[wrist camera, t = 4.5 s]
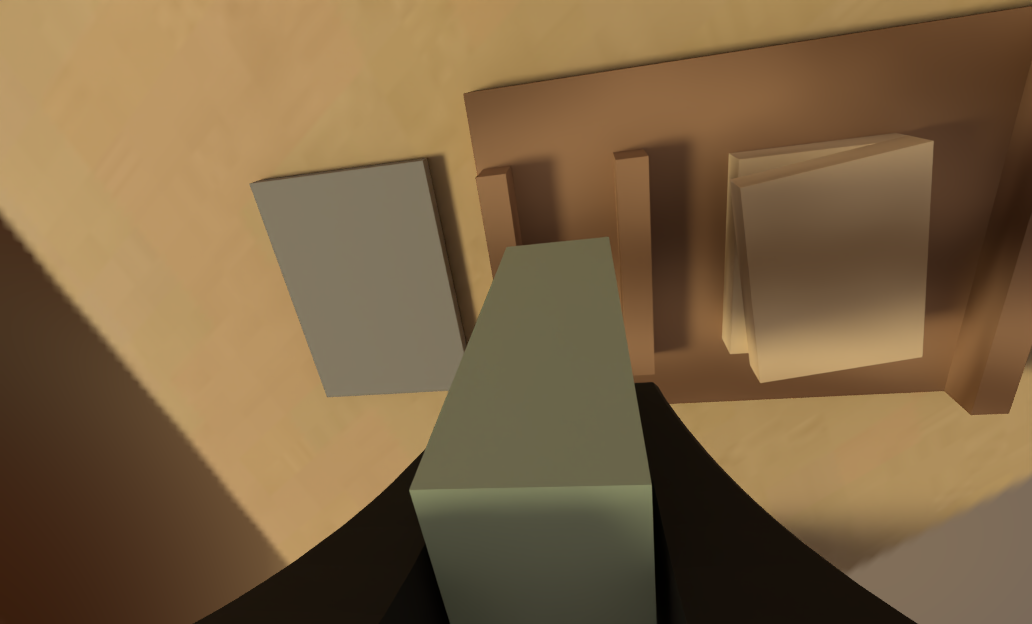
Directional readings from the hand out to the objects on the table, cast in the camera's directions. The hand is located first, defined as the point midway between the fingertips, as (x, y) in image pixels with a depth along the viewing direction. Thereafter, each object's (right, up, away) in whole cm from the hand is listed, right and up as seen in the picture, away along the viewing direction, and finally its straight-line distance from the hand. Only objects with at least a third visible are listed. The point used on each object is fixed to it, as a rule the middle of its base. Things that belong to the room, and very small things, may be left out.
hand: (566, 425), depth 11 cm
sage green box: (0, +1, +3) cm, 3 cm away
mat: (-7, +3, +11) cm, 13 cm away
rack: (+7, +5, +8) cm, 12 cm away
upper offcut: (+9, +4, +6) cm, 12 cm away
